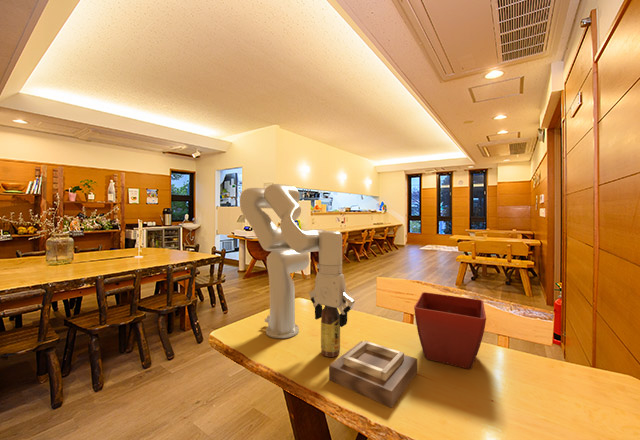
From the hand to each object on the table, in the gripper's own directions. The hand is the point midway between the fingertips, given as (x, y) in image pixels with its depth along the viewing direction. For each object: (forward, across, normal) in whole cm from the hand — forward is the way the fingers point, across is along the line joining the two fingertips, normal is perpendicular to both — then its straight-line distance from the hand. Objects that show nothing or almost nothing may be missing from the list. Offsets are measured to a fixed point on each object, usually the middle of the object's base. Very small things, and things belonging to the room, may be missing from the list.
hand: (330, 321), depth 90 cm
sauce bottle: (+10, 0, 0) cm, 10 cm away
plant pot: (+11, +31, +22) cm, 39 cm away
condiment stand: (+10, +17, -3) cm, 20 cm away
